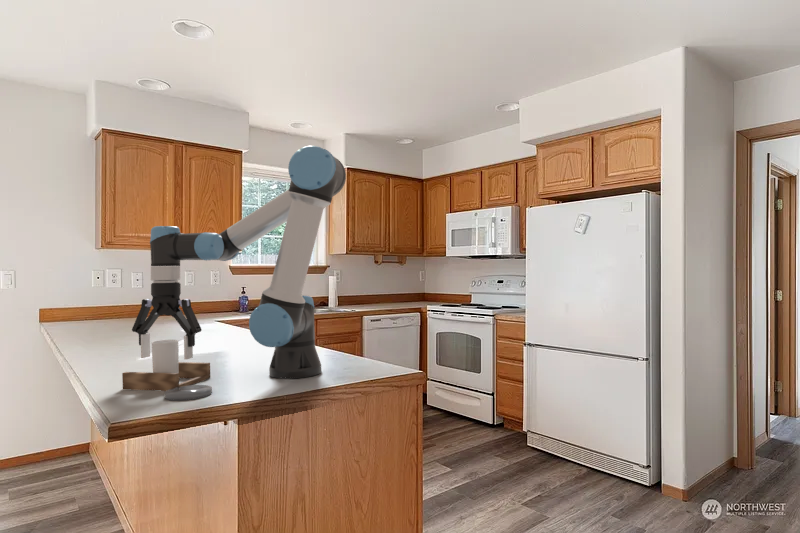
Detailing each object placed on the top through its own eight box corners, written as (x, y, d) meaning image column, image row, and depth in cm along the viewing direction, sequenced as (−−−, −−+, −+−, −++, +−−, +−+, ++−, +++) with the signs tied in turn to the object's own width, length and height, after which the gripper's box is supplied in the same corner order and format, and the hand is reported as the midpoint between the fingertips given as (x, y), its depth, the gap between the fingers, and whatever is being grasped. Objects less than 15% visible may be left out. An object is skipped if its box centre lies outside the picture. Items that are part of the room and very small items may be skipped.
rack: (210, 377, 148) (210, 362, 148) (175, 391, 133) (175, 374, 133) (162, 376, 152) (161, 361, 152) (122, 389, 136) (122, 373, 136)
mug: (174, 387, 138) (173, 342, 137) (148, 388, 137) (147, 343, 137) (186, 378, 148) (185, 337, 148) (162, 379, 147) (161, 338, 147)
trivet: (220, 390, 133) (220, 385, 133) (195, 401, 122) (194, 396, 122) (183, 388, 135) (183, 384, 135) (154, 399, 124) (154, 395, 124)
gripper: (213, 281, 143) (214, 356, 143) (136, 281, 149) (137, 354, 149) (197, 282, 136) (198, 361, 136) (117, 282, 141) (118, 359, 141)
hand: (166, 358), depth 142 cm, fingers open, 13 cm apart
